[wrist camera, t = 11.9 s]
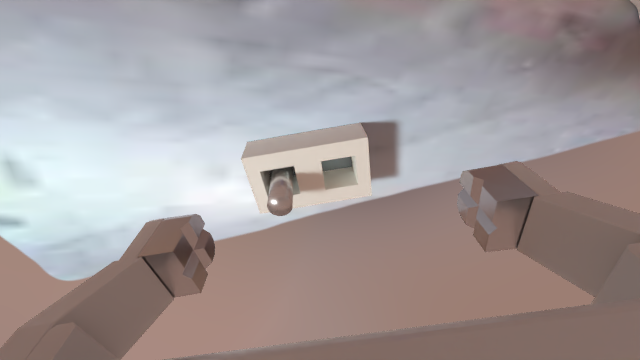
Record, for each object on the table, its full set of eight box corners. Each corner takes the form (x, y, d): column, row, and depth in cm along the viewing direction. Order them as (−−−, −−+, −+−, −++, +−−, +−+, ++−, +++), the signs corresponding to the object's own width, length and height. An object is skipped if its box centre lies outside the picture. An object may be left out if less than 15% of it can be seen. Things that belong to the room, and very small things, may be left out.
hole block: (360, 122, 38) (367, 137, 34) (364, 176, 43) (371, 195, 39) (247, 141, 39) (241, 158, 35) (264, 193, 44) (260, 213, 39)
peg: (291, 154, 40) (289, 193, 32) (295, 171, 42) (294, 213, 33) (271, 157, 40) (264, 197, 32) (275, 174, 42) (270, 217, 34)
